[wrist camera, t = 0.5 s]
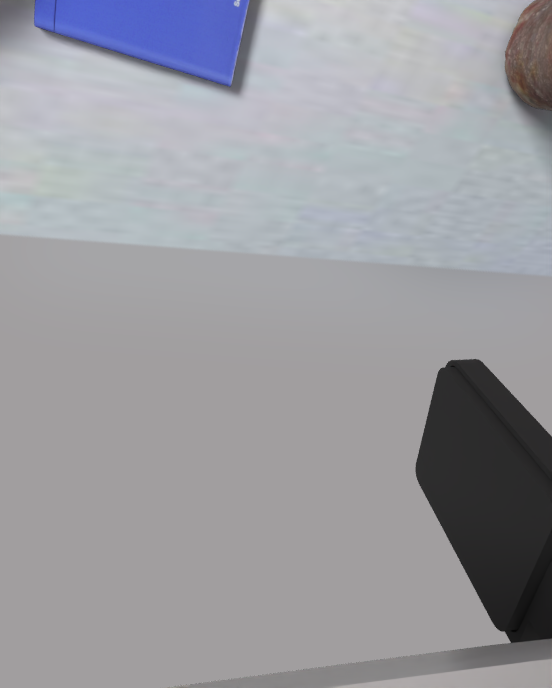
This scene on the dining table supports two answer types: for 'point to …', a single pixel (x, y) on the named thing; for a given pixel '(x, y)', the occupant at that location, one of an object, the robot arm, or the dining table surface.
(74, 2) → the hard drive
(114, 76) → the dining table surface
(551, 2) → the candle
